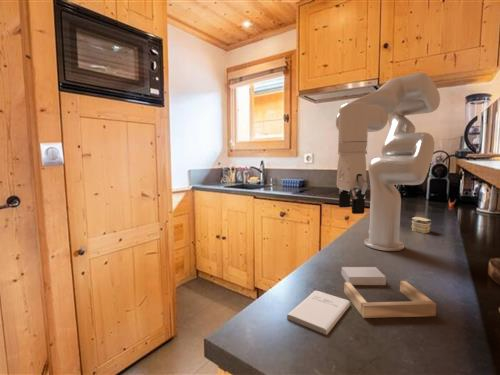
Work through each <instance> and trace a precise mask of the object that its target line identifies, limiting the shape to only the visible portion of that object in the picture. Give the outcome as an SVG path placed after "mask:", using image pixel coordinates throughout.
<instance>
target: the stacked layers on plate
mask: <svg viewBox="0 0 500 375" xmlns="http://www.w3.org/2000/svg"><path fill="white" fill-rule="evenodd" d="M411 219H412V220H411V223H412V224H411V227H410V228H412V229H411V231H413V232H416V233H417V232H418V233H422V234H427V233H430V229H431V227H430V225H432V222H429V221H431V219H429V218H425V217H420V216H414V217H412V218H411Z"/></svg>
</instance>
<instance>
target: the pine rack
mask: <svg viewBox="0 0 500 375" xmlns="http://www.w3.org/2000/svg"><path fill="white" fill-rule="evenodd" d="M399 283H400V284H399V292H400V293H402V294H403V295H404V296H405V297H406V298H408V299H409V300H410V301H381V302H380V301H376V302H374V301H373V302H367V300H366V299H365V298H364V297H363V295H361V294H360V293H359V291H358V290H357V289H356V288H355V286H354V285H352V284H351V283H350V282H346V281H345V282H344V284H343V285H344V287H343V288H344V289H343V290H344V291H343V292H344V294H345V296H346V297H347V298H348V300H349V301H350V303H351V304H352V305H353V306H354V308H356V310H357V312H358V313H359V314H360V315H361V317H362V318H363V319H371V318H374V319H377V318H380V319H381V318H411V317H413V318H414V317H436V316H437V315H436V313H437V303H435V302H434V301H433V300H431V299H430V298H429V297H428V296H426V295H425V294H424V293H423V292H421V291H420V290H419V289H417V288H415V287H414V286H413V285H412V284H410V283H409V282H408V281H406V280H400V281H399Z"/></svg>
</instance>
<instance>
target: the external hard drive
mask: <svg viewBox="0 0 500 375" xmlns="http://www.w3.org/2000/svg"><path fill="white" fill-rule="evenodd" d="M350 306H351V301H350V300H349V299H346V298H341V297H339V296H336V295H332V294H329V293H326V292H323V291H319V290H314V291H313V292H312V293H311V294H310V295H308V296H307V297H306V298H304V300H302V301H301V302H300V303H299V304H298V305H297V306H295V307H294V308H293V309H292V310H291V311H290V312H289V313H287V315H286V319H287V320H289V321H291V322H294V323H297V324H299V325H301V326H304V327H306V328H309V329H311V330H314V331H316V332H318V333H320V334H323V335H325V336H328V335H329V333H330V332H331V331H332V329H333V328H334V327H335V325H336V324H337V323H338V322H339V320H340V319H341V318H342V316H343V315H344V314H345V312H346V311H347V310H348V309H349V308H350Z"/></svg>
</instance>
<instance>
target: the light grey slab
mask: <svg viewBox="0 0 500 375" xmlns="http://www.w3.org/2000/svg"><path fill="white" fill-rule="evenodd" d="M340 274H341V276H342V278H343V279H344V280H345V282H350V283H351V284H352V286H386V285H387V284H386V283H387V282H386V281H387V277H386V275H385V274H384V273H382V272H381V271H380V269H379V268H377V267H376V266H341V272H340Z"/></svg>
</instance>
